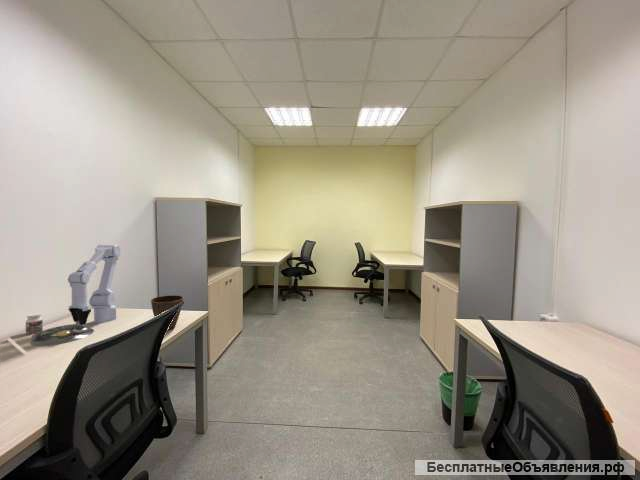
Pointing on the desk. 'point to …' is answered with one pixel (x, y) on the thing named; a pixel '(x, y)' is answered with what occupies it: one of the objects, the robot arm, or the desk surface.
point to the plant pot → (166, 306)
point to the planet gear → (79, 328)
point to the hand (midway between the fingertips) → (79, 322)
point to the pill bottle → (34, 323)
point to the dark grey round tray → (58, 335)
